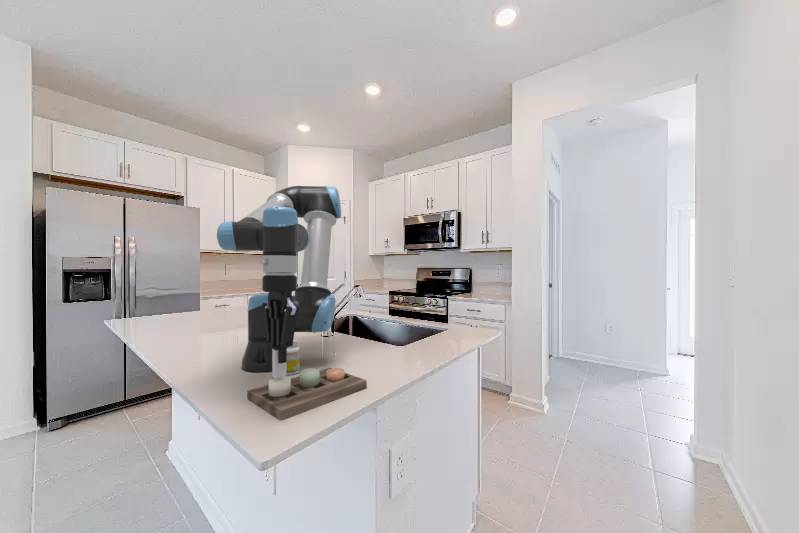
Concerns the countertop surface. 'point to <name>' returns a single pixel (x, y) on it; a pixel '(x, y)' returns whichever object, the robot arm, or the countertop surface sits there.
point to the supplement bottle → (293, 359)
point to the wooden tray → (305, 395)
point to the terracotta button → (335, 374)
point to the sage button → (309, 377)
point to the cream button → (279, 386)
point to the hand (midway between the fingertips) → (279, 376)
